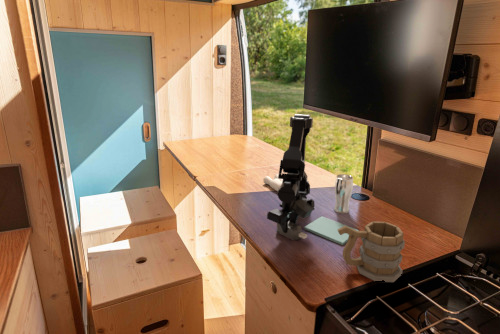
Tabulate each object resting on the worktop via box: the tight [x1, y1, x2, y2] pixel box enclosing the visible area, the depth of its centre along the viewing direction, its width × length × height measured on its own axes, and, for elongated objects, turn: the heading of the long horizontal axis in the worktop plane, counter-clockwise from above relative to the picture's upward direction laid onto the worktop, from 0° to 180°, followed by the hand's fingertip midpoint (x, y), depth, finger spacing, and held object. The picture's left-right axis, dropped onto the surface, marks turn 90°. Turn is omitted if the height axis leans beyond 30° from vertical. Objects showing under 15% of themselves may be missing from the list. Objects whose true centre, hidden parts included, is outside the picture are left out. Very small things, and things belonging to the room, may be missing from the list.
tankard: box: [338, 221, 406, 283], centre depth 105 cm, size 20×13×15 cm, turn 88°
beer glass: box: [333, 173, 354, 214], centre depth 143 cm, size 7×7×15 cm
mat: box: [303, 215, 360, 246], centre depth 129 cm, size 16×12×1 cm
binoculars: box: [263, 173, 283, 192], centre depth 168 cm, size 10×16×5 cm, turn 30°
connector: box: [276, 221, 308, 241], centre depth 125 cm, size 12×4×4 cm, turn 47°
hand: (288, 230), depth 126 cm, fingers closed on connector, 4 cm apart
